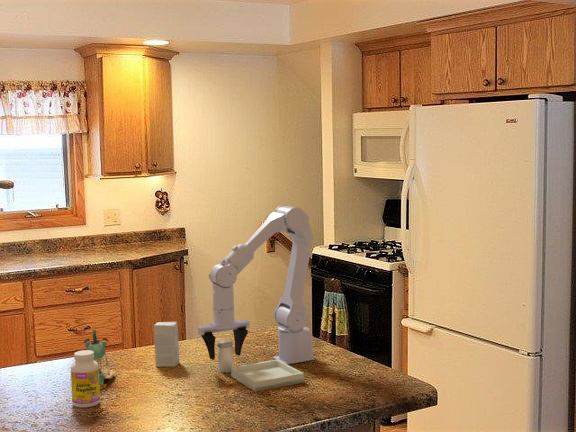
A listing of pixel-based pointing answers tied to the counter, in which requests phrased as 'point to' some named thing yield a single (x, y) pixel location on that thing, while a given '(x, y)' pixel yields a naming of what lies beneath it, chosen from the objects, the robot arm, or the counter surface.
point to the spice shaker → (225, 355)
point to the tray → (267, 375)
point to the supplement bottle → (85, 380)
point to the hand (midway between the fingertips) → (225, 356)
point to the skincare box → (166, 344)
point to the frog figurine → (99, 357)
